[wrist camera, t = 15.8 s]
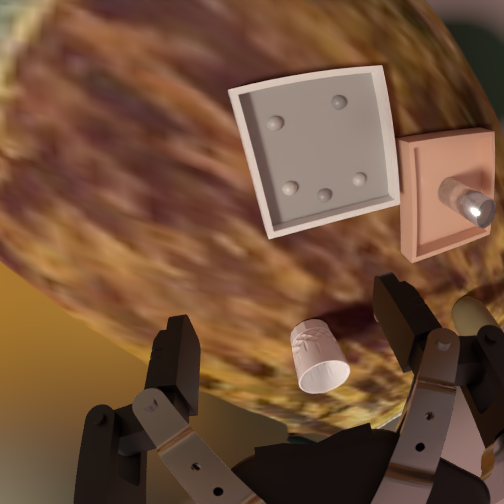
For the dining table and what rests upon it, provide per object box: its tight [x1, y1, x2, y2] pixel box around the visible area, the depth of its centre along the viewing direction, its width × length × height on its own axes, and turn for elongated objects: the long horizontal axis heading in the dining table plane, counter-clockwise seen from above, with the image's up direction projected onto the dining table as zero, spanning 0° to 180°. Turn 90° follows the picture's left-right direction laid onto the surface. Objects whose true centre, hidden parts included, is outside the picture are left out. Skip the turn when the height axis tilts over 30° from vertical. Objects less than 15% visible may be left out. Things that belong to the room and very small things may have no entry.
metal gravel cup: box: [438, 177, 496, 229], centre depth 35 cm, size 4×4×9 cm
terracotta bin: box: [395, 127, 495, 263], centre depth 38 cm, size 18×18×4 cm
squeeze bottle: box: [452, 296, 502, 336], centre depth 45 cm, size 8×8×18 cm
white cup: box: [290, 319, 350, 393], centre depth 45 cm, size 8×8×10 cm
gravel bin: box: [228, 65, 400, 239], centre depth 34 cm, size 18×18×4 cm
